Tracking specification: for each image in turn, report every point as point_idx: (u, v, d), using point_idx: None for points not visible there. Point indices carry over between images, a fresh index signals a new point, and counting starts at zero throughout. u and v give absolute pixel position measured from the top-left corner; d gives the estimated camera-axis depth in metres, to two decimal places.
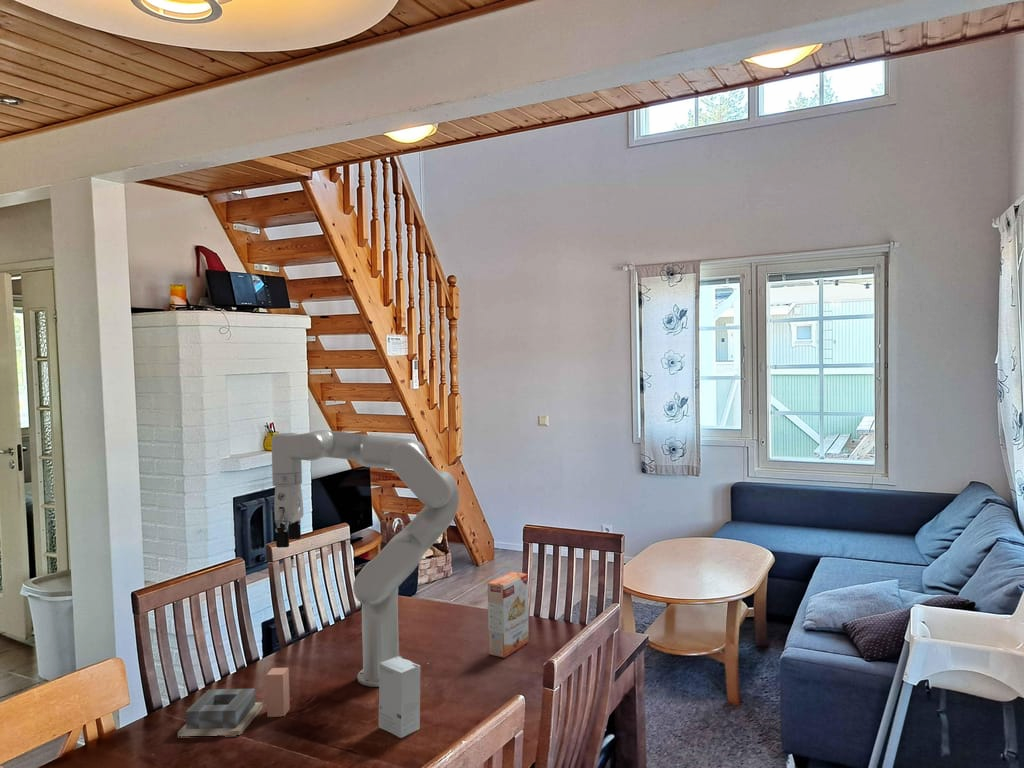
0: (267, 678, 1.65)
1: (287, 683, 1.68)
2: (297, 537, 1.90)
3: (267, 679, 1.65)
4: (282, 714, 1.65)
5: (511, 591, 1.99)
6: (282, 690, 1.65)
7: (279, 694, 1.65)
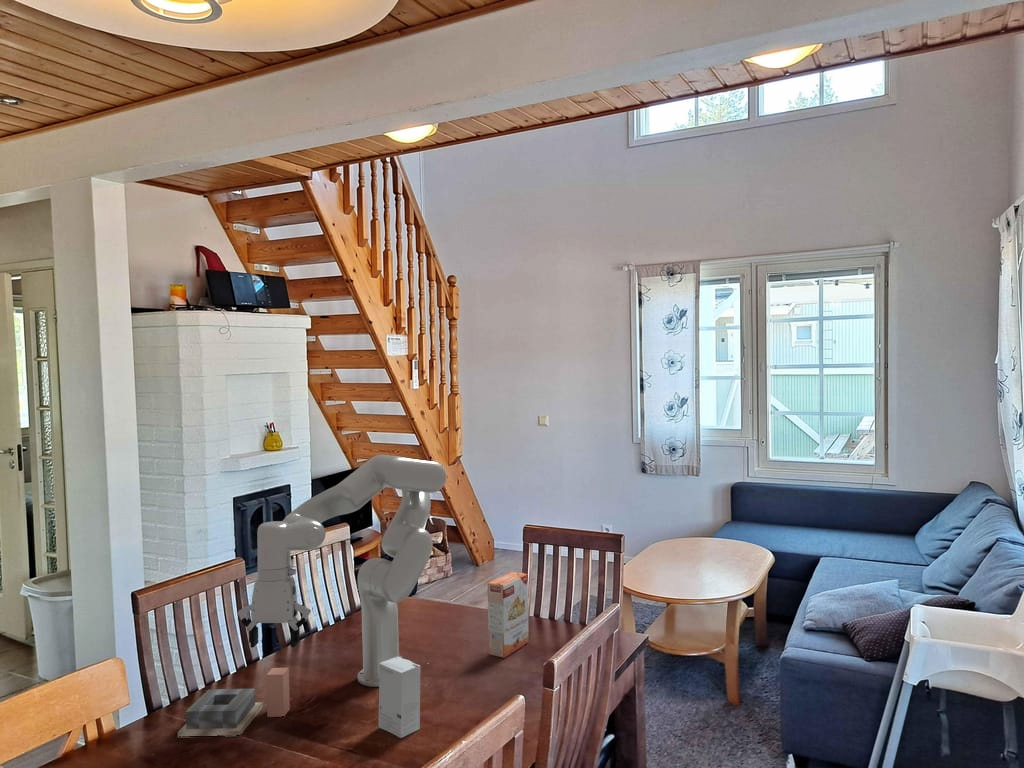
0: (267, 678, 1.65)
1: (287, 683, 1.68)
2: (257, 642, 1.67)
3: (267, 679, 1.65)
4: (282, 714, 1.65)
5: (511, 591, 1.99)
6: (282, 690, 1.65)
7: (279, 694, 1.65)
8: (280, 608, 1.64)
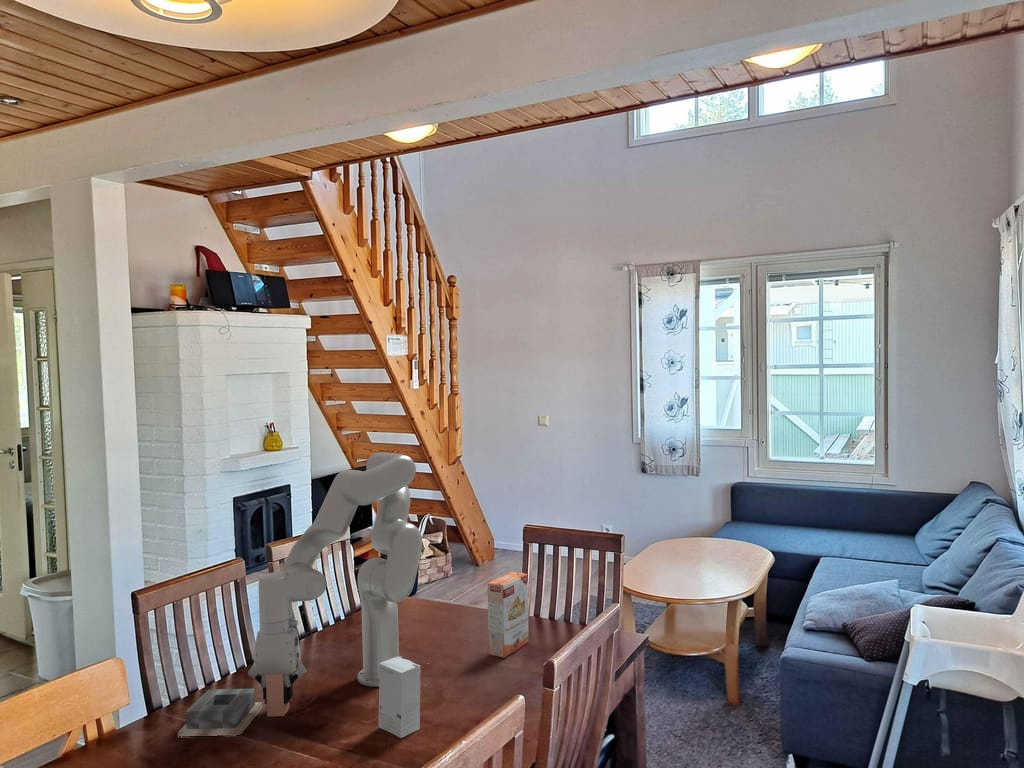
0: (267, 678, 1.65)
1: None
2: None
3: (267, 679, 1.65)
4: (282, 714, 1.65)
5: (511, 591, 1.99)
6: (282, 690, 1.65)
7: (279, 693, 1.65)
8: (283, 660, 1.64)
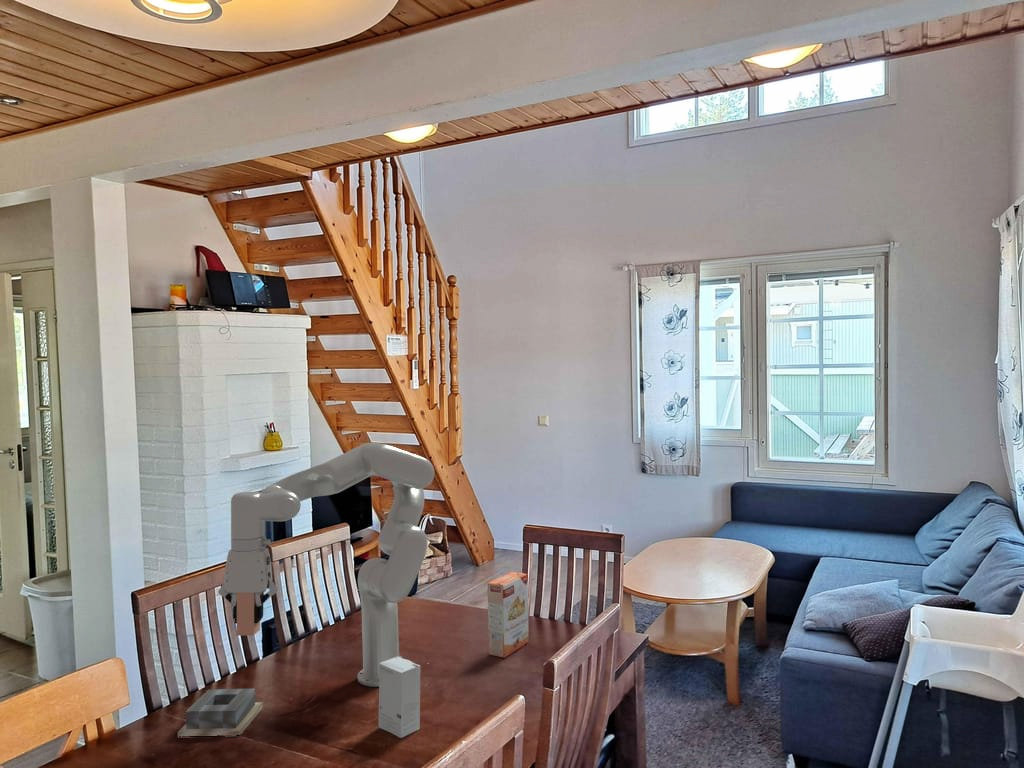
0: (238, 596, 1.63)
1: None
2: None
3: (237, 597, 1.63)
4: (252, 633, 1.63)
5: (511, 591, 1.99)
6: (252, 608, 1.63)
7: (249, 612, 1.63)
8: (254, 578, 1.63)
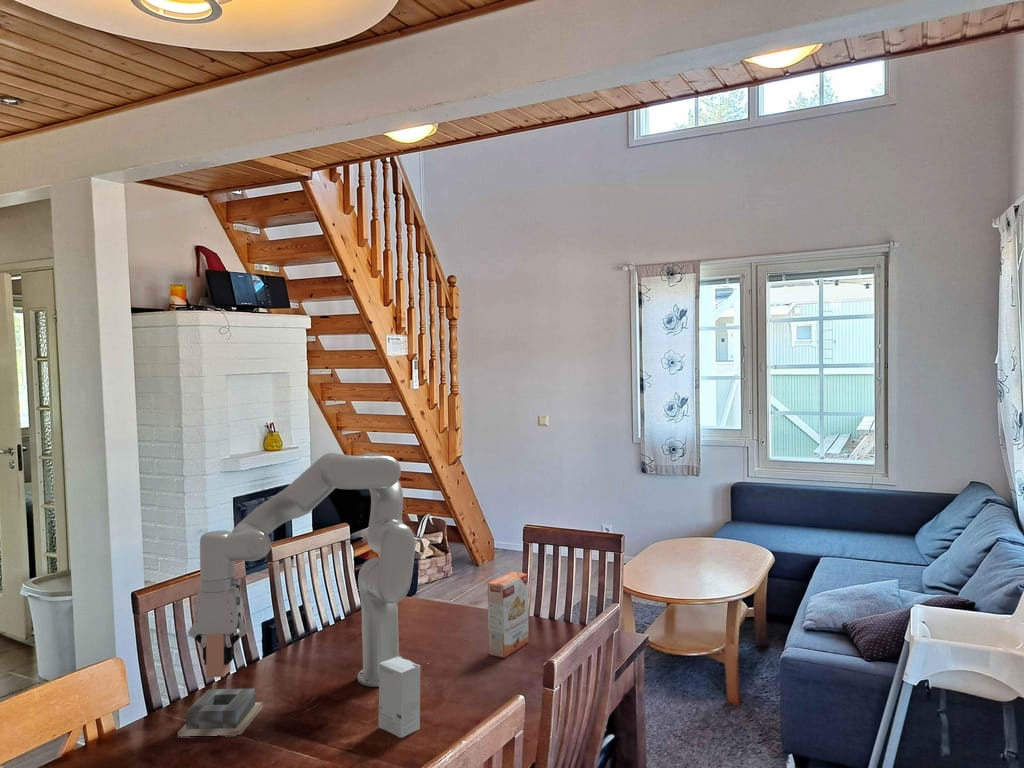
0: (207, 637, 1.61)
1: None
2: None
3: (207, 638, 1.61)
4: (221, 674, 1.61)
5: (511, 591, 1.99)
6: (222, 650, 1.61)
7: (219, 653, 1.61)
8: (223, 620, 1.60)
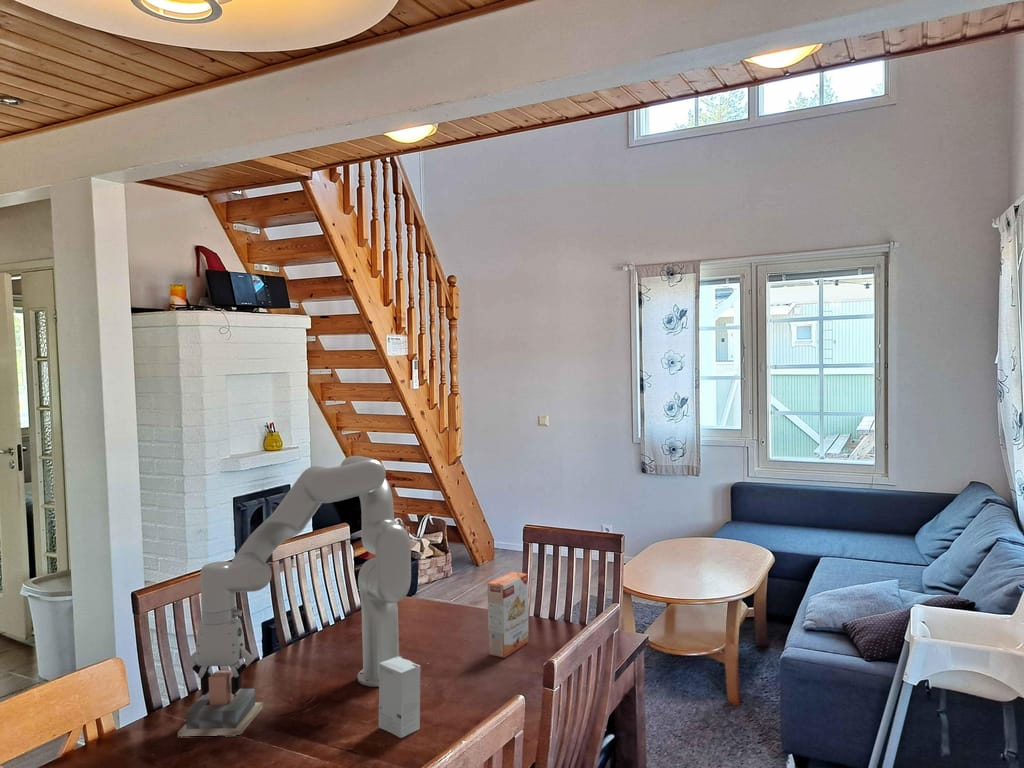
0: (210, 681, 1.61)
1: None
2: None
3: (209, 682, 1.61)
4: None
5: (511, 591, 1.99)
6: (225, 693, 1.61)
7: (222, 697, 1.61)
8: (225, 651, 1.61)
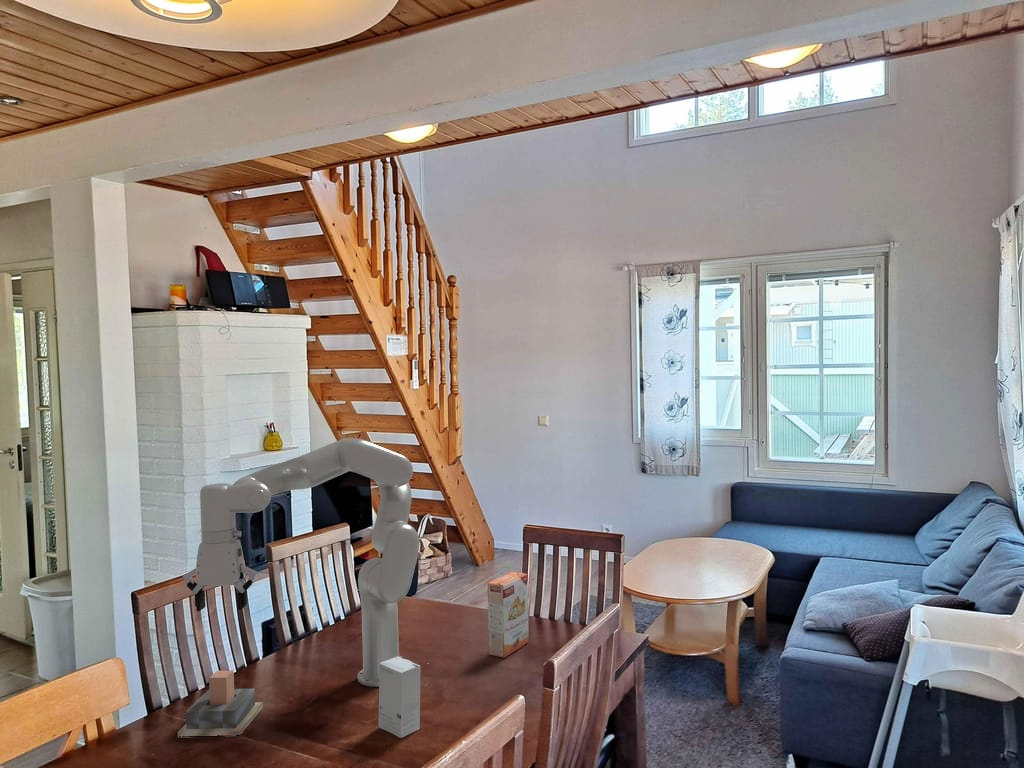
0: (210, 681, 1.61)
1: (232, 686, 1.64)
2: (204, 606, 1.65)
3: (210, 682, 1.61)
4: None
5: (511, 591, 1.99)
6: (225, 693, 1.61)
7: (222, 697, 1.61)
8: (225, 570, 1.61)
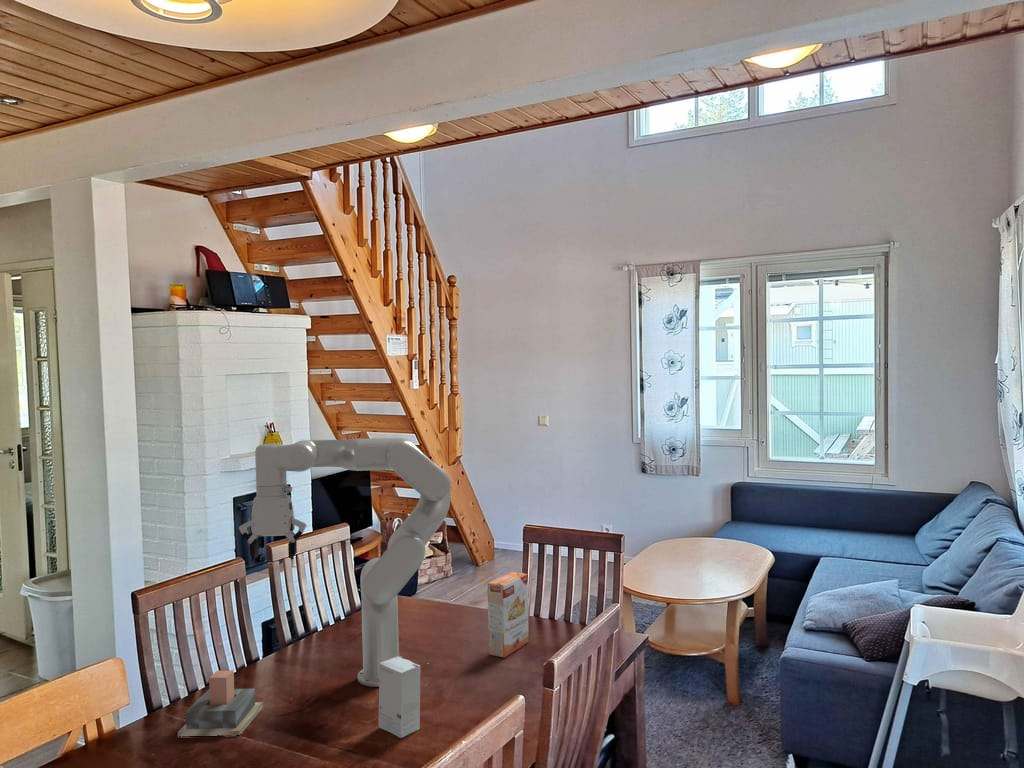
0: (210, 681, 1.61)
1: (232, 686, 1.64)
2: (258, 555, 1.81)
3: (210, 682, 1.61)
4: None
5: (511, 591, 1.99)
6: (225, 693, 1.61)
7: (222, 697, 1.61)
8: (278, 522, 1.78)
